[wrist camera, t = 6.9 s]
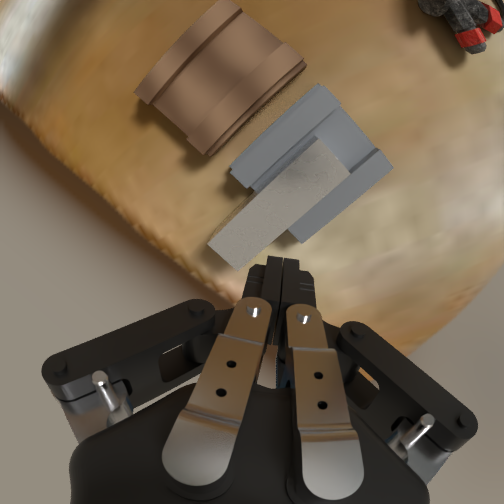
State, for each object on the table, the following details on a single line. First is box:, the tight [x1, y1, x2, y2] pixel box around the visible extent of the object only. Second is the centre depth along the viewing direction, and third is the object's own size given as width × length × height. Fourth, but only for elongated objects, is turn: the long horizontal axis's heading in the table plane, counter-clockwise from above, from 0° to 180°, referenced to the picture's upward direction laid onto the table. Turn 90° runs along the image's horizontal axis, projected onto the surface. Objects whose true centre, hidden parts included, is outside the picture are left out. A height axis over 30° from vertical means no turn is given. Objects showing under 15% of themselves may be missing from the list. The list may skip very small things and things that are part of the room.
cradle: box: [134, 0, 307, 156], centre depth 23 cm, size 13×11×3 cm
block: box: [207, 135, 351, 271], centre depth 26 cm, size 14×4×4 cm, turn 136°
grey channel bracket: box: [230, 83, 394, 244], centre depth 26 cm, size 12×11×3 cm
